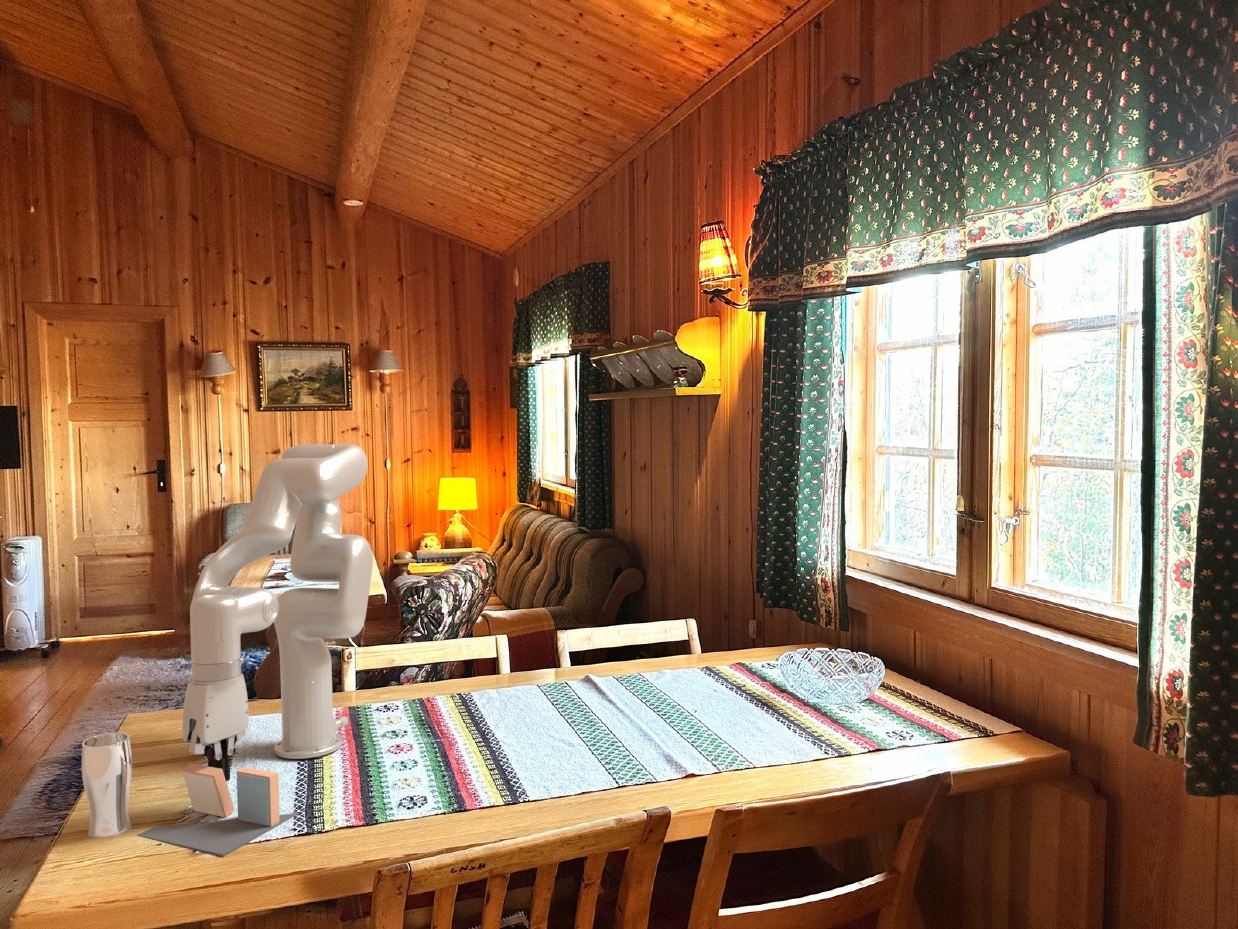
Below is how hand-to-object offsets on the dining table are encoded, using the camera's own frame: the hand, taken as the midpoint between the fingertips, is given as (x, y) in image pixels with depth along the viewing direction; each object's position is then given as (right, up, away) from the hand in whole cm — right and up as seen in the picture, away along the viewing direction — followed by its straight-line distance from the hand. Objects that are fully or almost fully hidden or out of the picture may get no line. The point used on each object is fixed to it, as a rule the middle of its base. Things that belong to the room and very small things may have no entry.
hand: (219, 780), depth 153 cm
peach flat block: (+8, -5, -4) cm, 11 cm away
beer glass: (-14, -6, -7) cm, 17 cm away
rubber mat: (+3, -6, -4) cm, 8 cm away
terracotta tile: (0, -5, -1) cm, 5 cm away
